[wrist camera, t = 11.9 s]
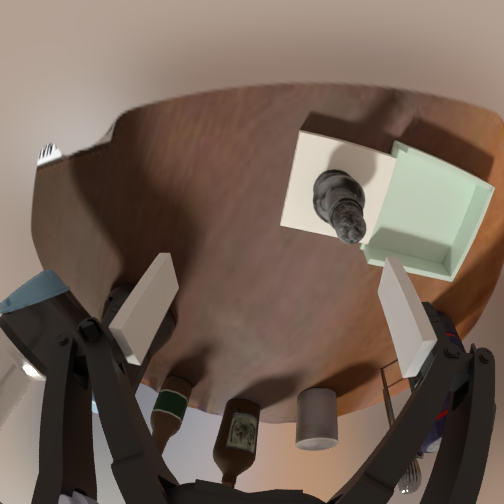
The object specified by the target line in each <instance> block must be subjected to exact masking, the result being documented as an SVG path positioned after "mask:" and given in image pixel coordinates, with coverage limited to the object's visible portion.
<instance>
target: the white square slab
mask: <svg viewBox="0 0 504 504" xmlns="http://www.w3.org/2000/svg"><path fill="white" fill-rule="evenodd" d="M396 161H397V159H396V158H395V157H393V156H392V155H390V154H387V153H384V152H381V151H378V150H375V149H372V148H369V147H365V146H362V145H359V144H355V143H352V142H348V141H344V140H341V139H337V138H333V137H329V136H325V135H321V134H317V133H312V132H308V131H303V130H299V134H298V139H297V144H296V149H295V154H294V159H293V164H292V169H291V174H290V179H289V183H288V188H287V193H286V197H285V202H284V207H283V211H282V216H281V226H286V227H291V228H296V229H301V230H305V231H310V232H315V233H319V234H324V235H329V236H333V237H338V236H337V234H336V231H335V229H333V228H332V227H331V225H330V224H328V223H326V222H324V221H323V220H321V219H320V218H319V217H318V215H317V214H316V212H315V210H314V207H313V195H314V194H313V186H314V183H315V181H316V179H317V178H318V176H319V175H321V174H322V173H323V172H325V171H328V170H333V169H337V170H342V171H344V172H346V173H347V174H349V175H350V176H351V177H352V178H353V179H355V180H356V181H357V182H358V183H359V184H360V185H361V187H362V188H363V191H364V193H365V206H364V209H363V215H364V216H363V218H364V220H365V223H366V234H365V236H364V238H363V239H362V240H361V241H359V242H360V243H364V244H368V243H369V241H370V238H371V235H372V233H373V230H374V227H375V225H376V222H377V219H378V216H379V214H380V211H381V208H382V205H383V202H384V199H385V196H386V193H387V190H388V187H389V184H390V181H391V177H392V174H393V171H394V167H395V164H396Z"/></svg>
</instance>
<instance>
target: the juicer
mask: <svg viewBox="0 0 504 504" xmlns="http://www.w3.org/2000/svg"><path fill="white" fill-rule="evenodd" d="M381 376H382V381H383V386H384V389H383V395H384V401H385V407H386V411H387V417H388V422H389V427H391V426H392V425H393V423H394V422H395V418H394V413H393V408H392V405H391V399H390V395H389V391H388V386H387V382H386V378H385V374H384V370H383V369H381ZM423 456H424V452H422V449H421V448H420V450H419V451H418V453H417V455H416V456H415V458H414V459H413V461H412V463H411V464H410V466H409V467H408V469H407V470H406V472H405V473H404V475H403V476H402V478H401V479H400V480H399V482H398V488H399V491H400V492H401V493H403V494H410V493H413V492H415V491H416V490H418V488H419V487H420V485H421V470H420V467H419V464H418V462H417V459H416V458H420V459H422V458H423Z"/></svg>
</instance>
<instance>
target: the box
mask: <svg viewBox="0 0 504 504" xmlns="http://www.w3.org/2000/svg"><path fill="white" fill-rule="evenodd" d="M390 155H392V156H393V157H395V158H396V159H397V161H396V164H395V167H394V171H393V174H392V177H391V181H390V184H389V187H388V190H387V193H386V196H385V199H384V202H383V205H382V208H381V211H380V214H379V216H378V219H377V222H376V225H375V227H374V230H373V233H372V235H371V238H370V241H369V243H368V244H364V243H361V245H360V249H361V250H363V252H364V254H365V257H366V260H367V262H368V264H372V265H377V266H382V267H384V264H385V260H386V256H398V258H399V260H400V262H401V264H402V266H403V267H404V269H405V271H406V272H410V273H414V274H419V275H423V276H428V277H432V278H437V279H441V280H446V281H450V282H452V281H453V279H454V277H455V276H456V274H457V272H458V270H459V268H460V266H461V264H462V263H463V261H464V259H465V257H466V255H467V253H468V251H469V249H470V247H471V245H472V243H473V240H474V238H475V236H476V234H477V232H478V230H479V227H480V225H481V223H482V220H483V218H484V215H485V213H486V210H487V208H488V205H489V203H490V200H491V197H492V195H493V192H494V189H495V187H493V186H492V185H490V184H489V183H487V182H486V181H484V180H483V179H481V178H479V177H477V176H475V175H473V174H471V173H470V172H468V171H466V170H464V169H462V168H460V167H457V166H455V165H453V164H451V163H449V162H447V161H445V160H442V159H440V158H438V157H436V156H433V155H431V154H429V153H426V152H424V151H421V150H419V149H416V148H414V147H411V146H409V145H406V144H403V143H401V142H398V141H395V140H394V143H393V147H392V150H391V154H390Z"/></svg>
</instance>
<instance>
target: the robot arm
mask: <svg viewBox="0 0 504 504" xmlns="http://www.w3.org/2000/svg"><path fill="white" fill-rule="evenodd" d="M178 289H179V286H178V282H177V278H176V274H175V271H174V267H173V263H172V258H171V254H170V253H159V254H158V256H157V257H156V258H155V260H154V261H153V262H152V264H151V265H150V267H149V268H148V269H147V271H146V272H145V274H144V275H143V276H142V278H141V279H140V281H139V282H138V283H137V285H136V286H134V285H119V286H117V287H115V288H114V289H113V290H112V291H111V293H110V294H109V295H108V297H107V298H106V301H105V304H104V308H103V312H102V316H101V320H100V323H99V321H98V319H97V318H95V317H91V316H90V315H89V313H88V312H87V311H86V310H85V309H84V307H83V306H82V305H81V304H80V302H79V301H78V300H77V299H76V297H75V296H74V295H73V294H72V292H71V291H70V288H69V287H68V286H66V285H65V283H64V282H63V281H62V280H61V279H60V277H59V276H58V275H57V274H56V273H55V272H54V271H53V270H49V269H48V270H44V271H42V272H40V273H39V274H37V275H36V276H34V277H33V278H32V279H30V280H29V281H28V282H26V283H25V284H23V285H22V286H21V287H19V288H18V289H17V290H16V291H14V292H13V293H12V294H11V295H9V296H8V297H7V298H6V299H5V300H3V301H2V302H1V303H0V313H1V314H2V316H1V317H0V430H1V429H2V427H3V425H4V424H5V422H6V421H7V419H8V418H9V416H10V414H11V413H12V412H13V410H14V409H15V407H16V406H17V404H18V403H19V401H20V400H21V399H22V397H23V396H24V394H25V393H26V392H27V390H28V389H29V387H30V386H31V385H32V383H33V382H34V381H36V380H46V384H45V390H44V397H43V404H42V413H41V425H40V441H39V474H38V478H37V482H36V486H35V490H34V494H33V498H32V503H31V504H98V503H97V484H96V474H95V464H94V453H93V435H92V412H95V413H97V414H99V417H100V420H101V424H102V428H103V431H104V434H105V437H106V440H107V443H108V446H109V449H110V452H111V455H112V457H113V463H112V464H111V469H112V472H113V475H114V477H115V480H116V482H117V485H118V487H119V489H120V492H121V494H122V496H123V498H124V500H125V502H126V504H386V503H387V502H388V501H389V500H390V498H391V497H392V495H393V493H394V488H395V486H396V485H397V483H398V482H399V480H400V479H401V478H402V476H403V475H404V473H405V472H406V470H407V469H408V467H409V466H410V464H411V463H412V461H413V459H414V458H415V456H416V455H417V453H418V451H419V450H420V448H421V446H422V445H423V443H424V441H425V439H426V437H427V436H428V434H429V432H430V430H431V428H432V426H433V424H434V422H435V421H436V419H437V416H438V414H439V412H440V410H441V408H442V406H443V404H444V402H445V399H446V397H447V395H448V393H449V391H451V394H450V401H449V406H448V412H447V417H446V422H445V426H444V430H443V435H442V439H441V443H440V446H439V450H438V453H437V457H436V460H435V463H434V467H433V470H432V473H431V476H430V479H429V481H428V484H427V487H426V489H425V492H424V494H423V497H422V499H421V502H420V504H476V501H477V497H478V494H479V491H480V487H481V483H482V480H483V476H484V471H485V467H486V462H487V457H488V452H489V445H490V440H491V432H492V424H493V414H494V397H495V359H494V356H493V354H492V352H491V351H489V350H488V349H486V348H478V349H477V350H476V352H475V353H474V354H470V353H464V352H461V349H460V348H459V347H458V346H457V345H456V344H455V343H452V342H450V341H449V338H448V336H447V334H446V331H445V329H444V327H443V325H442V323H441V322H440V318H439V317H438V314H437V312H436V310H435V308H434V307H433V306H432V305H431V304H430V303H429V302H421V301H420V299H419V297H418V295H417V293H416V291H415V289H414V287H413V285H412V283H411V281H410V279H409V277H408V275H407V273H406V271H405V269H404V267H403V266H402V264H401V262H400V260H399V258H398V256H386V260H385V264H384V269H383V273H382V277H381V281H380V285H379V289H378V295H379V298H380V301H381V304H382V307H383V310H384V313H385V316H386V320H387V323H388V326H389V329H390V333H391V336H392V340H393V343H394V347H395V350H396V354H397V358H398V361H399V365H400V369H401V373H402V377H403V378H406V377H414V376H416V375H417V374H418V372H419V370H421V373H422V377H421V378H420V380H419V381H418V383H417V384H416V385H415V389H414V391H413V392H412V394H411V396H410V398H409V399H408V401H407V403H406V404H405V406H404V407H403V409H402V411H401V412H400V414H399V415H398V417H397V418H396V420H395V422H394V423H393V425H392V426H391V427H390V429H389V430H388V432H387V433H386V435H385V436H384V437H383V439H382V440H381V442H380V443H379V444H378V446H377V447H376V448H375V450H374V451H373V452H372V454H371V455H370V456H369V457H368V459H367V460H366V461H365V462H364V464H363V465H362V466H361V467H360V468H359V470H358V471H357V472H356V473H355V474H354V475H353V477H352V478H351V479H350V480H349V481H348V482H347V483H346V484H345V485H344V486H343V487H342V488H341V489H340V490H339V491H338V492H337V493H336V494H335V495H334V496H333V497H332V498H331V499H330V500H329V501H328V502H327V503H325V502H323V501H322V500H320V499H319V498H316V497H314V496H312V495H309V494H305V493H303V490H282V489H275V490H269V491H262V492H254V493H245V492H242V491H239V490H237V489H234V488H231V487H229V486H226V485H223V484H220V483H214V482H209V481H204V480H198V479H196V481H195V483H186V484H181V485H179V483H178V481H177V480H176V478H175V477H174V476H173V474H172V473H171V472H170V470H169V469H168V468H167V466H166V464H165V462H164V460H163V458H162V456H161V454H160V452H159V450H158V448H157V446H156V444H155V442H154V440H153V438H152V435H151V433H150V431H149V429H148V427H147V424H146V422H145V420H144V417H143V415H142V413H141V410H140V408H139V405H138V403H137V400H136V398H135V393H136V391H137V389H138V386H139V384H140V382H141V380H142V377H143V375H144V373H145V371H146V368H147V366H148V364H149V362H150V360H151V358H152V356H153V355H154V354H155V353H156V352H158V351H159V350H160V349H161V348H162V347H163V346H164V345H165V344H166V343H167V342H168V341H169V339H170V338H171V336H172V334H173V331H174V328H175V321H174V318H173V315H172V313H171V312H170V310H169V309H168V308H169V306H170V304H171V302H172V300H173V299H174V297H175V295H176V293H177V291H178ZM0 504H2V503H1V502H0Z"/></svg>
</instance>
